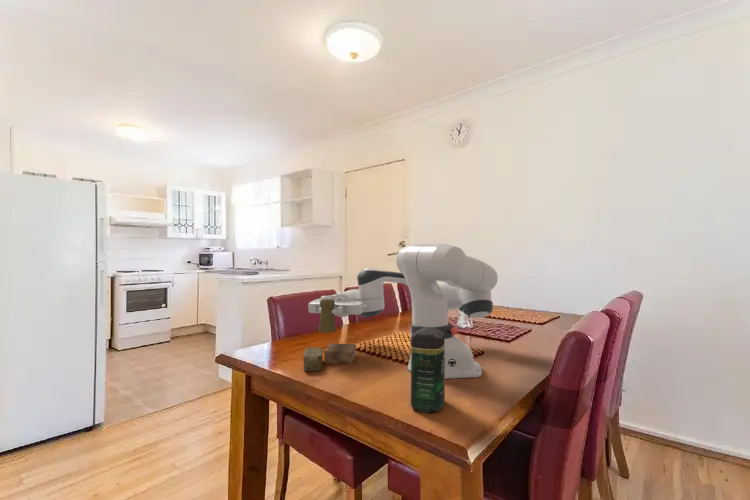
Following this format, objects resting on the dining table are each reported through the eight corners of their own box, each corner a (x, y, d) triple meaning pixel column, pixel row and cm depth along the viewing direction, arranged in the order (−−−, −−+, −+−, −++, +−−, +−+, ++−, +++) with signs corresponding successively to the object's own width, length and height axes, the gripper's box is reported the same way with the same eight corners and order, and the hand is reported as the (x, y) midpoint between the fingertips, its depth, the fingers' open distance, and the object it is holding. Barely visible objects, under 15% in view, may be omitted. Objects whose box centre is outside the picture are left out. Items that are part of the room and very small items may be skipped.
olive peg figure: (339, 330, 129) (339, 298, 130) (329, 332, 124) (329, 299, 124) (325, 328, 132) (325, 297, 132) (314, 331, 127) (314, 299, 127)
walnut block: (355, 355, 131) (355, 344, 131) (351, 363, 122) (351, 351, 122) (330, 354, 132) (330, 343, 132) (324, 363, 123) (324, 351, 123)
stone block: (303, 373, 114) (302, 356, 114) (304, 361, 126) (304, 346, 126) (322, 371, 115) (321, 355, 115) (322, 360, 127) (322, 345, 126)
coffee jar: (441, 416, 85) (440, 335, 84) (407, 411, 87) (406, 332, 87) (447, 399, 94) (447, 325, 93) (417, 395, 96) (416, 323, 96)
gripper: (369, 314, 137) (355, 322, 124) (319, 311, 144) (301, 319, 130) (368, 296, 137) (354, 303, 124) (318, 295, 143) (300, 301, 130)
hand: (326, 311), depth 127 cm, fingers closed on olive peg figure, 3 cm apart
